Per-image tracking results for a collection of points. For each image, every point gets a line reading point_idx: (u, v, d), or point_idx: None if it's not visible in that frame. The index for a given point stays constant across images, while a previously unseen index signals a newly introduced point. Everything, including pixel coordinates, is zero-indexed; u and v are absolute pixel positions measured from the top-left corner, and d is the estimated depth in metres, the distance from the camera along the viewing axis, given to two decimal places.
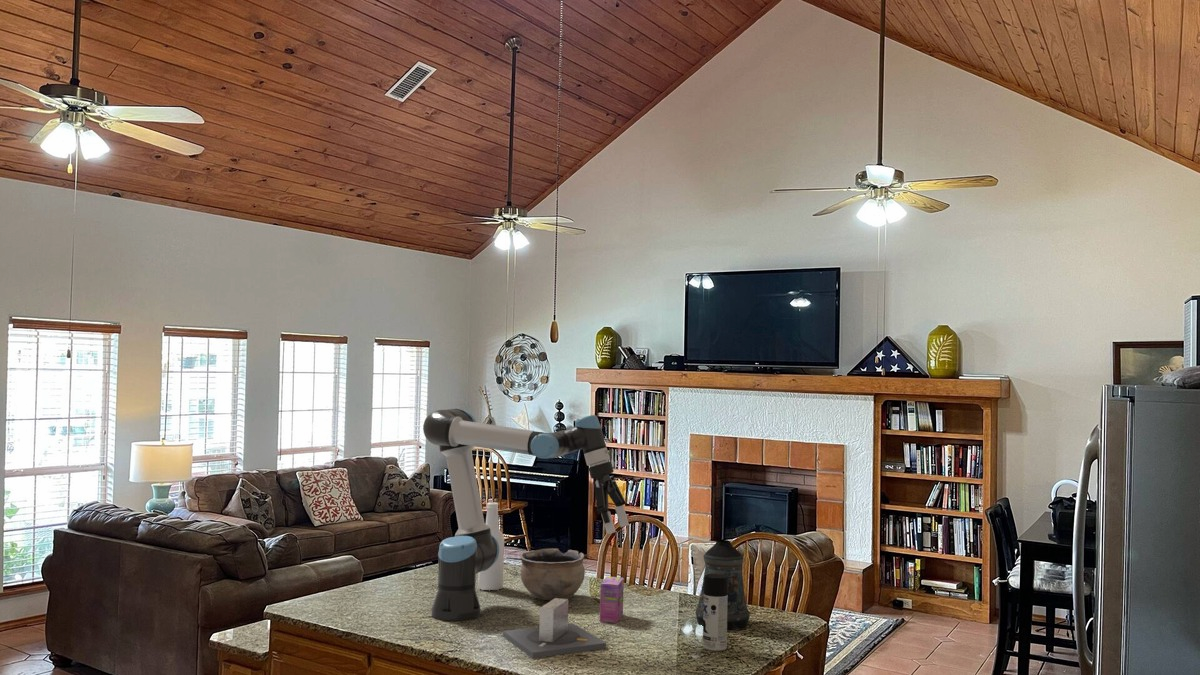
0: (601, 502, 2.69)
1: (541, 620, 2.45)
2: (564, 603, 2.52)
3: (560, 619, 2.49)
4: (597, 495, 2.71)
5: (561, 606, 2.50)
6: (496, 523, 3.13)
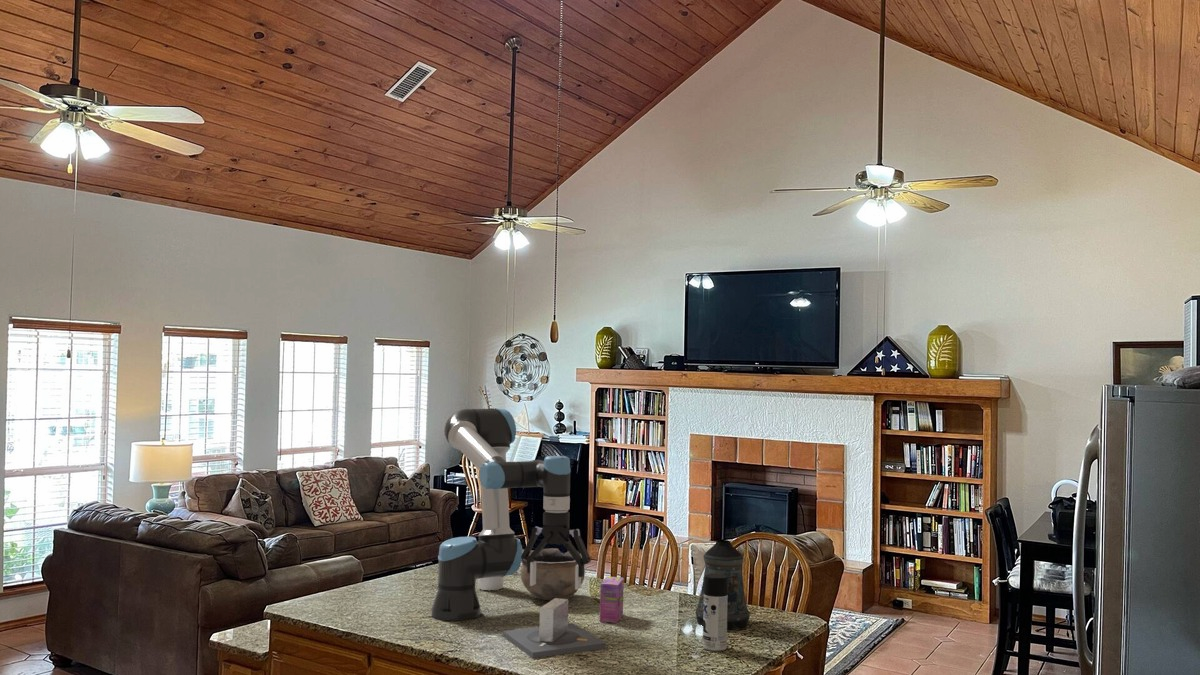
0: None
1: (541, 620, 2.45)
2: (564, 603, 2.52)
3: (560, 619, 2.49)
4: None
5: (561, 606, 2.50)
6: None
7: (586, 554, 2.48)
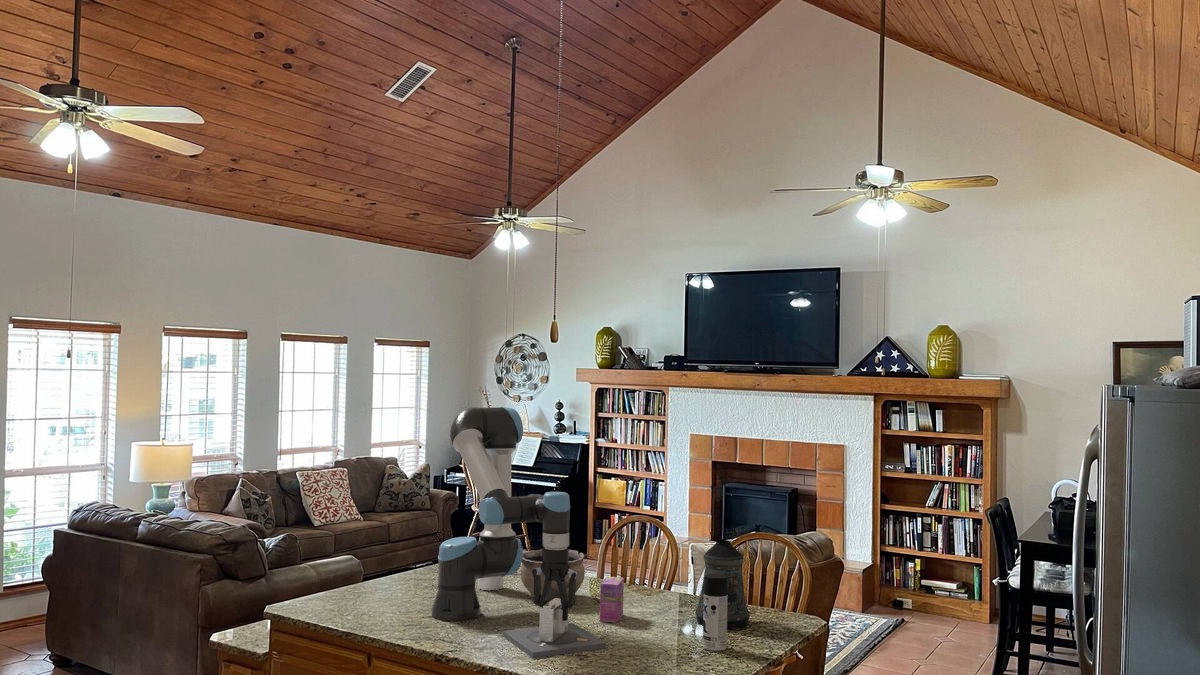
0: None
1: (541, 620, 2.45)
2: None
3: None
4: None
5: (561, 606, 2.50)
6: None
7: (573, 598, 2.48)
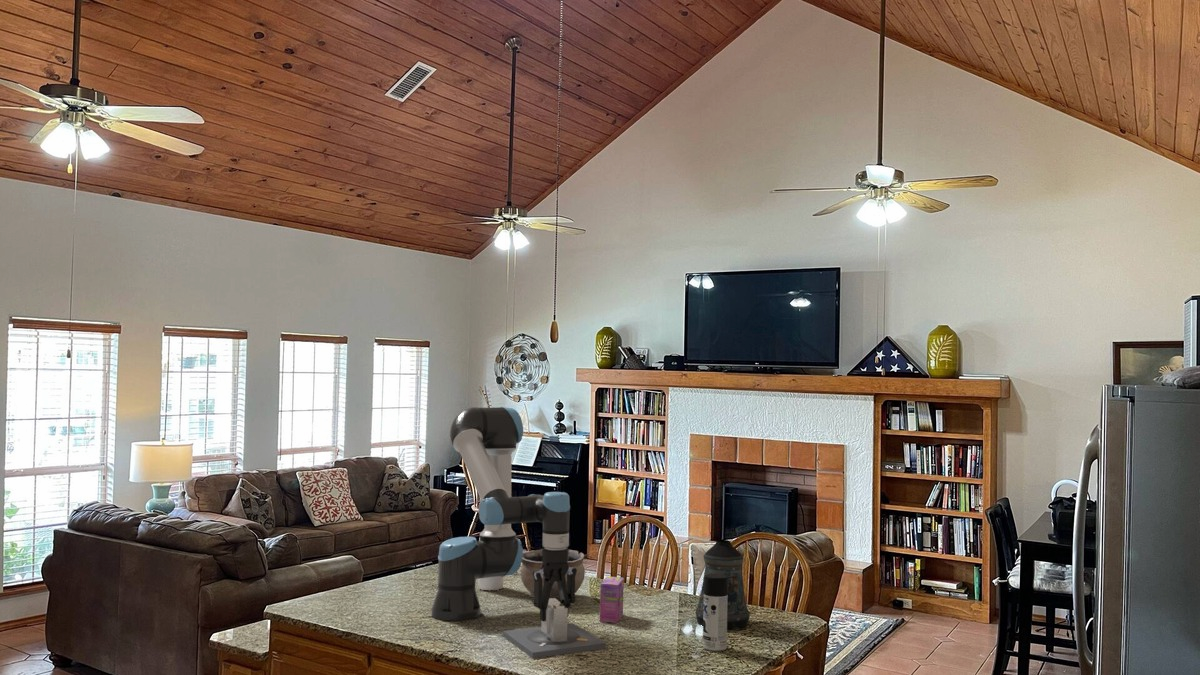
0: (536, 599, 2.46)
1: (555, 621, 2.44)
2: None
3: None
4: (535, 589, 2.47)
5: None
6: None
7: None
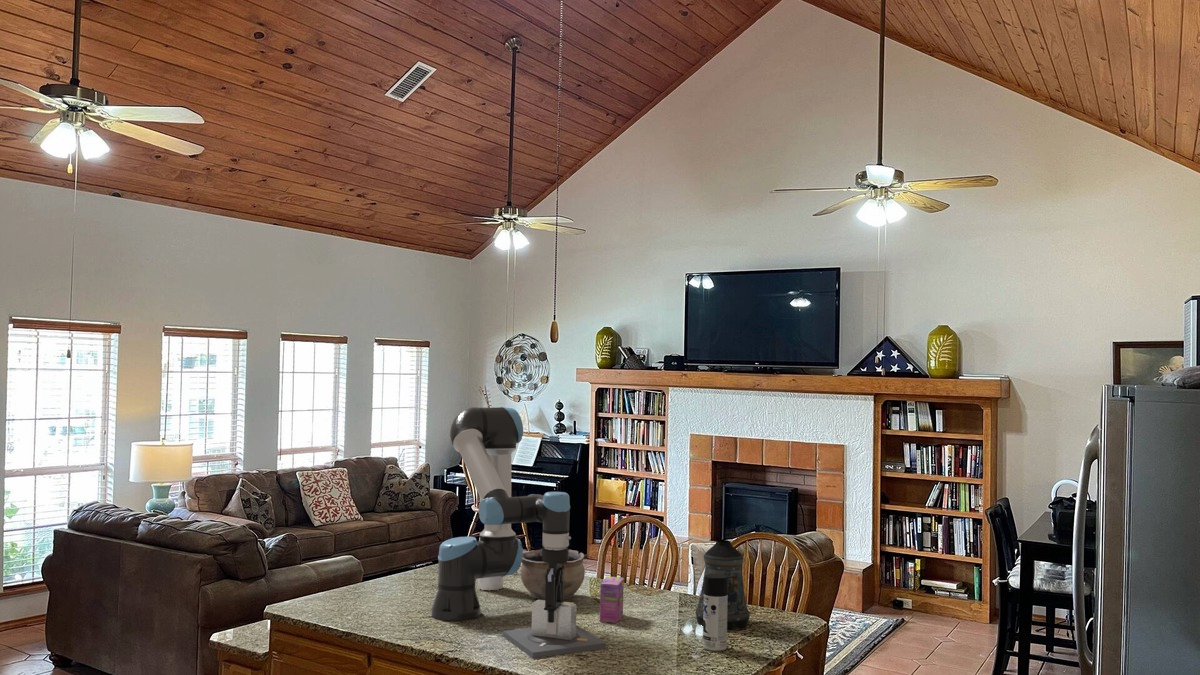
0: (551, 601, 2.44)
1: (571, 619, 2.46)
2: None
3: None
4: (547, 591, 2.45)
5: None
6: None
7: None
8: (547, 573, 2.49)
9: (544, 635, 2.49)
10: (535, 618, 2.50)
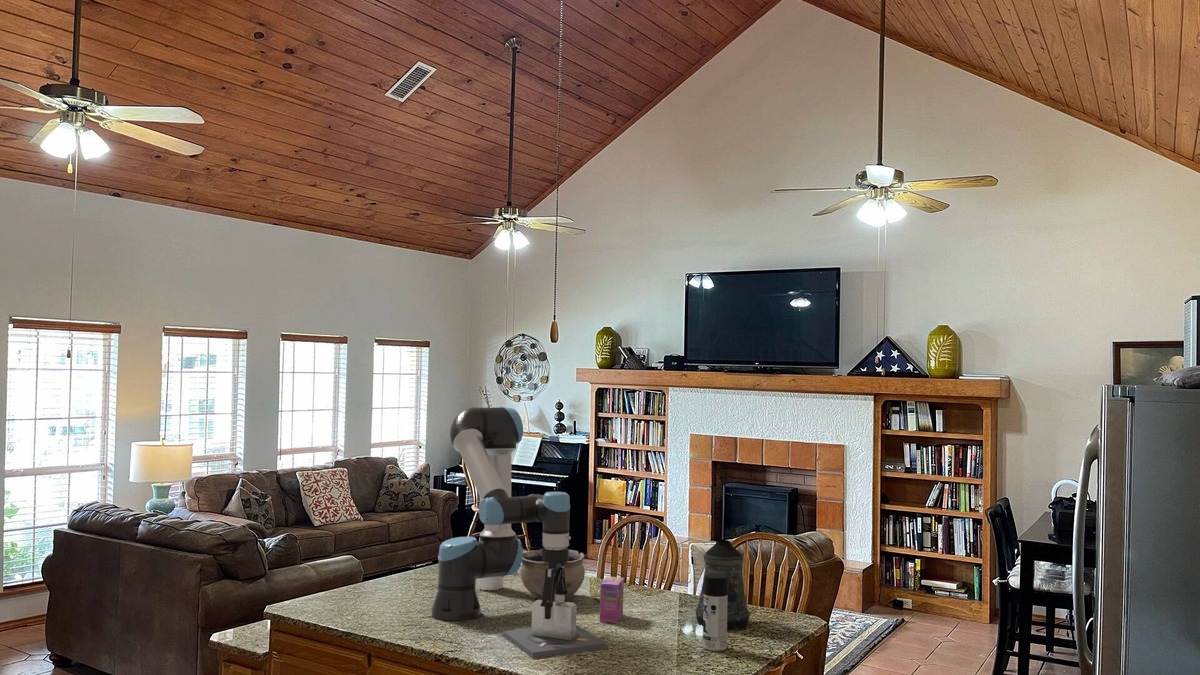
0: (548, 596, 2.41)
1: (571, 619, 2.46)
2: None
3: None
4: (546, 586, 2.43)
5: None
6: None
7: None
8: None
9: (544, 635, 2.49)
10: (535, 618, 2.50)
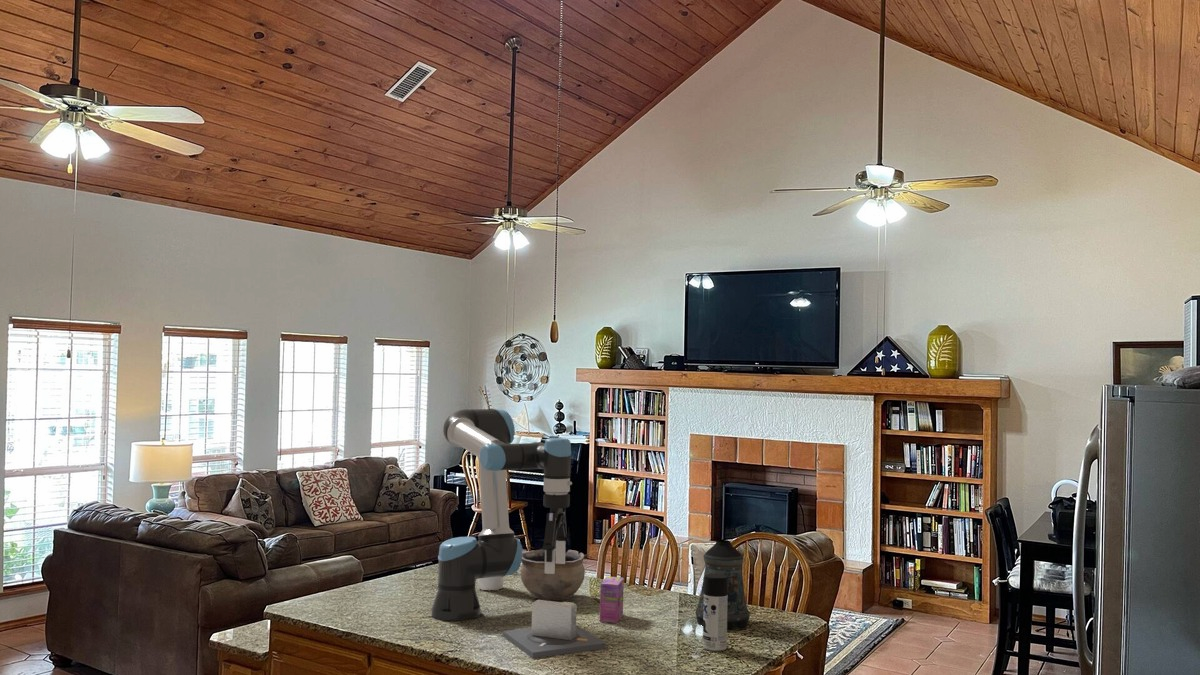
0: (550, 539, 2.42)
1: (571, 619, 2.46)
2: None
3: None
4: (547, 529, 2.43)
5: None
6: None
7: None
8: None
9: (544, 635, 2.49)
10: (535, 618, 2.50)
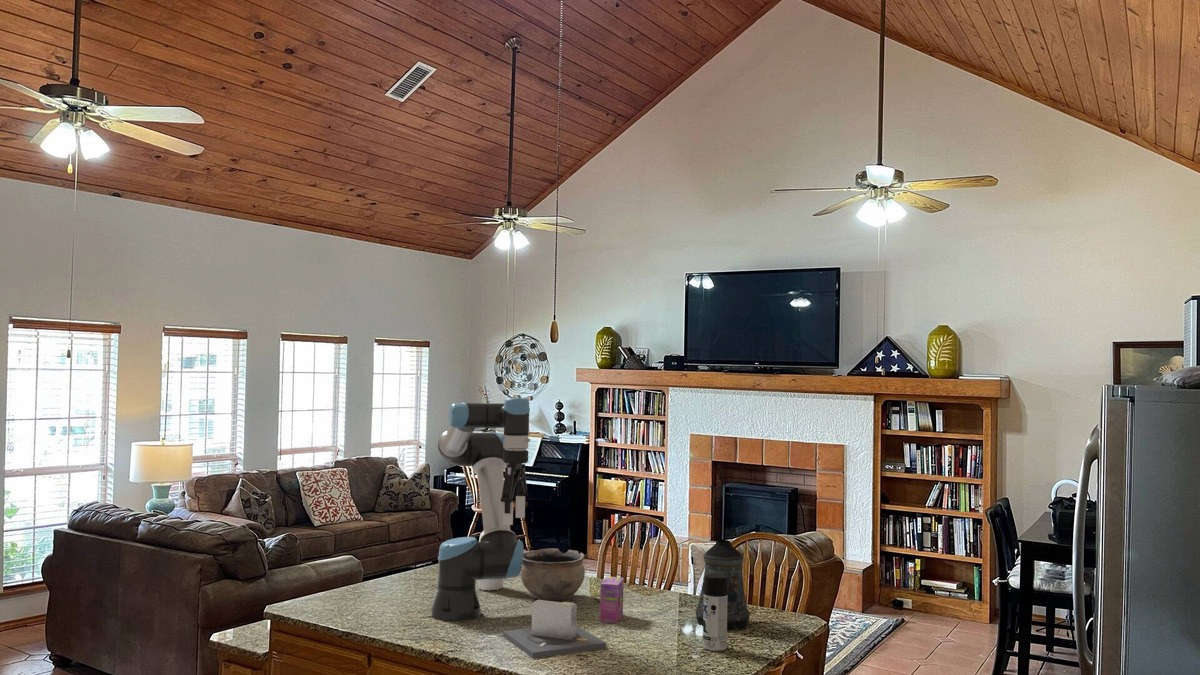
0: (508, 491, 2.55)
1: (571, 619, 2.46)
2: None
3: None
4: (506, 483, 2.56)
5: None
6: None
7: None
8: None
9: (544, 635, 2.49)
10: (535, 618, 2.50)
